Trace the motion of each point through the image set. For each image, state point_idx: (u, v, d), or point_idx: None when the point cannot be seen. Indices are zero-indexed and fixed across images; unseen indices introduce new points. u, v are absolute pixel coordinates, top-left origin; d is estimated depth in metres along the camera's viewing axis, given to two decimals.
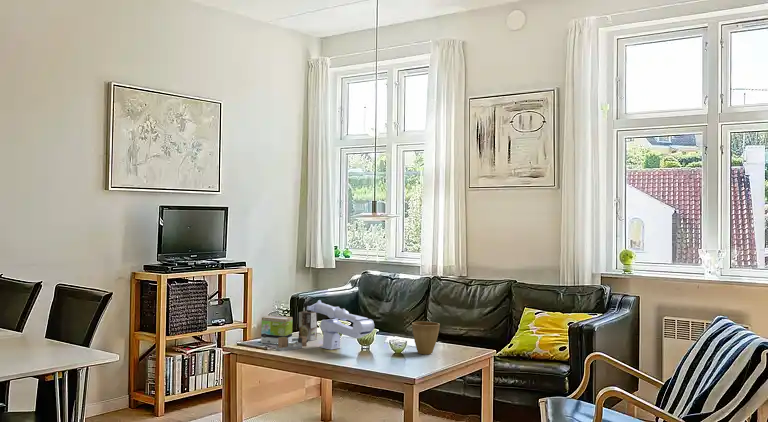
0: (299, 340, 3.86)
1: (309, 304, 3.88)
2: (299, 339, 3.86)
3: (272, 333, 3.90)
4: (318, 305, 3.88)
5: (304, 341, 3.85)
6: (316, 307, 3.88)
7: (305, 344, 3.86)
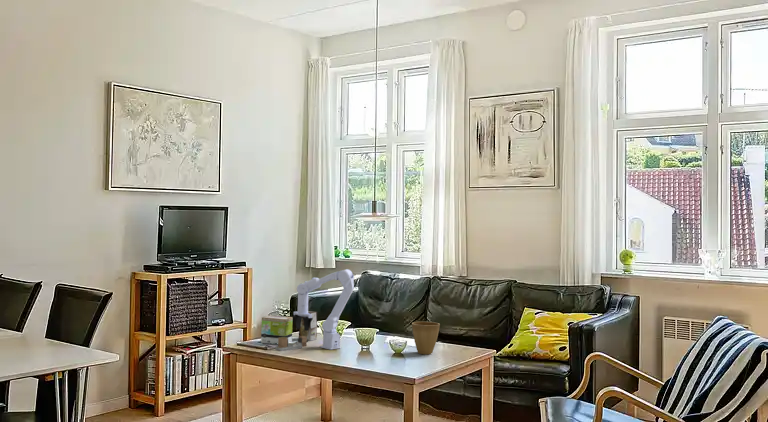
0: (299, 340, 3.86)
1: (306, 318, 3.82)
2: (299, 339, 3.86)
3: (272, 333, 3.90)
4: (302, 310, 3.84)
5: (304, 341, 3.85)
6: (305, 311, 3.85)
7: (305, 344, 3.86)
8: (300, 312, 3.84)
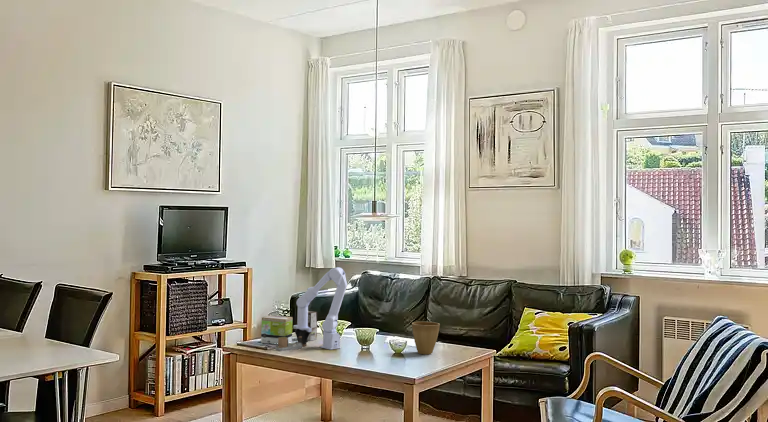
0: (299, 340, 3.86)
1: (303, 331, 3.83)
2: (299, 339, 3.86)
3: (272, 333, 3.90)
4: (302, 323, 3.84)
5: None
6: (304, 325, 3.84)
7: (305, 344, 3.86)
8: (300, 326, 3.84)
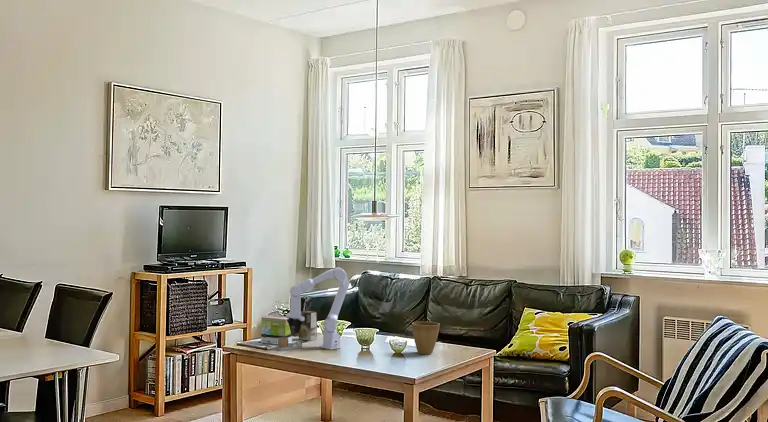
0: (292, 330, 3.79)
1: (296, 320, 3.76)
2: (292, 329, 3.79)
3: (272, 333, 3.90)
4: (295, 312, 3.77)
5: None
6: (297, 314, 3.77)
7: (298, 334, 3.79)
8: (292, 315, 3.77)
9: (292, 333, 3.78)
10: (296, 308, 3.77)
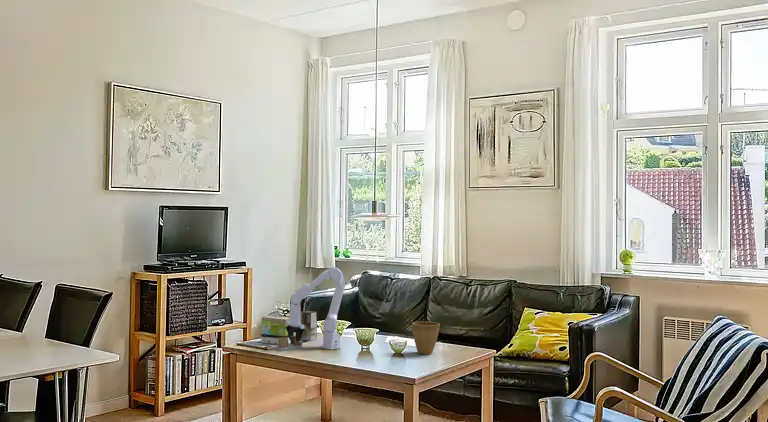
0: (291, 339, 3.79)
1: (297, 328, 3.75)
2: (291, 338, 3.79)
3: (272, 333, 3.90)
4: (294, 320, 3.77)
5: None
6: (297, 322, 3.77)
7: (298, 343, 3.79)
8: (292, 323, 3.77)
9: (292, 342, 3.78)
10: (296, 316, 3.77)
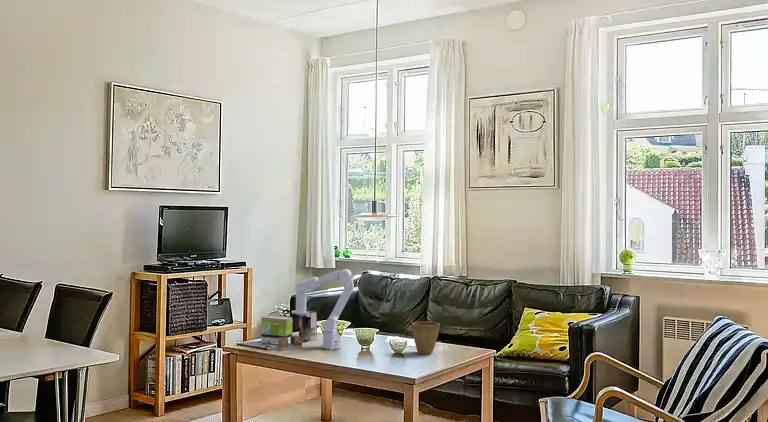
0: (291, 339, 3.79)
1: (304, 317, 3.80)
2: (291, 338, 3.79)
3: (272, 333, 3.90)
4: (300, 308, 3.82)
5: (296, 340, 3.78)
6: (303, 310, 3.82)
7: (298, 343, 3.79)
8: (298, 311, 3.82)
9: (292, 342, 3.78)
10: (302, 304, 3.82)
